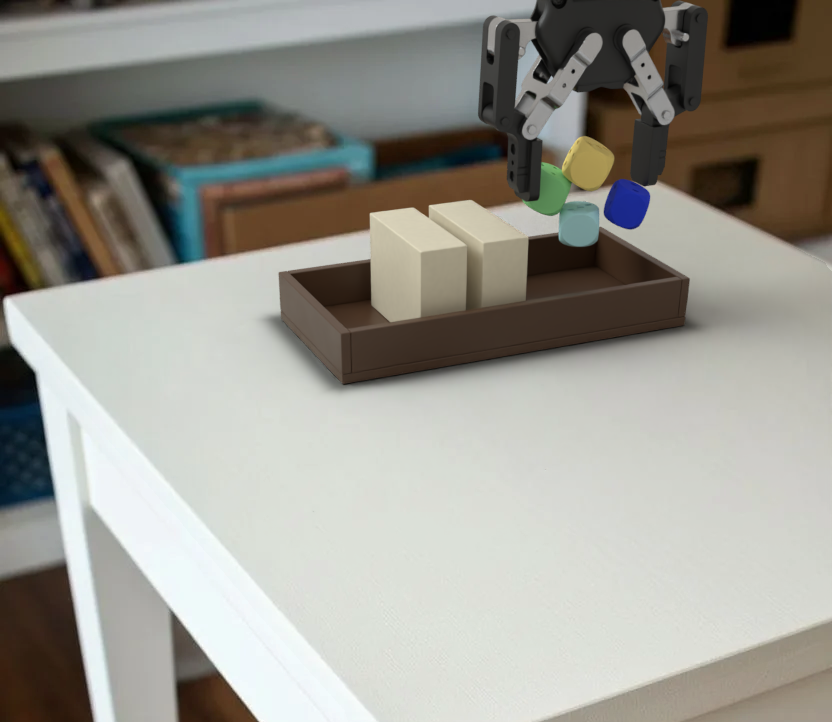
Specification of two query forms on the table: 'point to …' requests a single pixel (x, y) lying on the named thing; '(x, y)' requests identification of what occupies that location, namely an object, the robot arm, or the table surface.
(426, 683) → the table surface
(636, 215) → the dice
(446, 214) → the block
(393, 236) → the block
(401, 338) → the tray
